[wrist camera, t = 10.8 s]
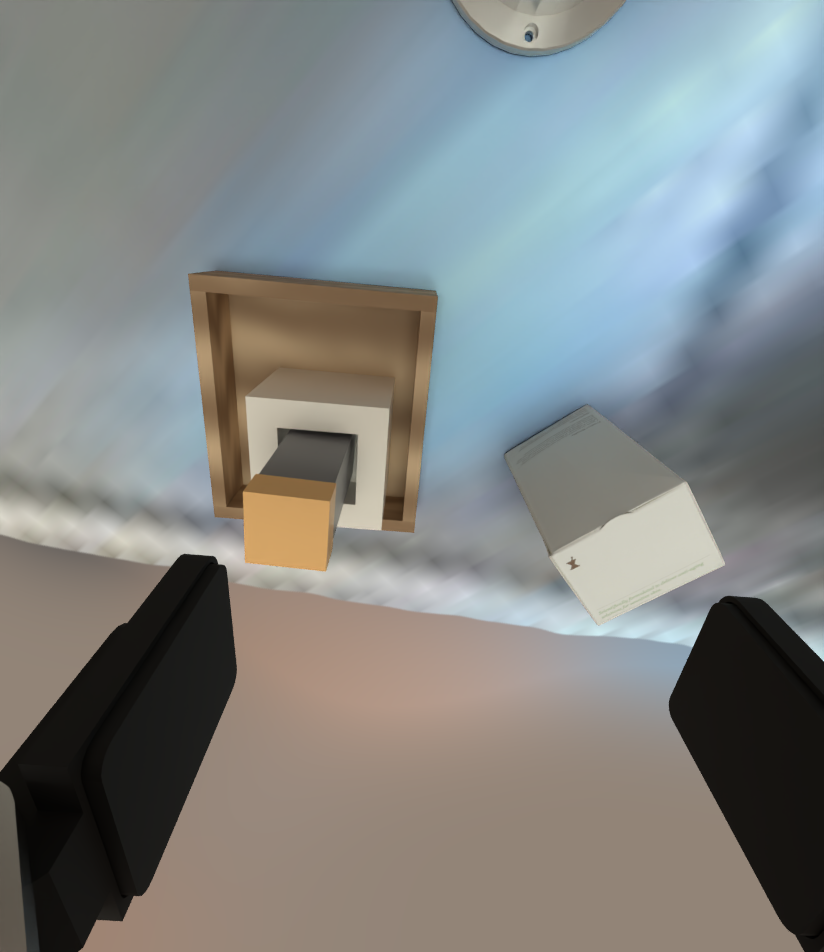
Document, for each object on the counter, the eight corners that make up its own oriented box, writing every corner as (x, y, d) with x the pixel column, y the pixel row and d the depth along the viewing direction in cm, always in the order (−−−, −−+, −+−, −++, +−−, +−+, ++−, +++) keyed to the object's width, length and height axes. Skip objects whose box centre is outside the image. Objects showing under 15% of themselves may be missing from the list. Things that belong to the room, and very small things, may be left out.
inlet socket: (279, 367, 37) (245, 396, 30) (395, 377, 37) (389, 408, 30) (283, 472, 41) (253, 520, 34) (387, 480, 41) (381, 530, 34)
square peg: (299, 413, 34) (242, 491, 23) (358, 420, 34) (330, 501, 23) (298, 466, 36) (245, 562, 25) (354, 473, 36) (326, 571, 25)
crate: (215, 270, 35) (188, 273, 30) (435, 290, 35) (437, 296, 31) (234, 490, 42) (214, 516, 38) (414, 505, 43) (413, 532, 39)
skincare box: (535, 506, 43) (592, 633, 29) (498, 449, 40) (541, 557, 26) (623, 459, 41) (732, 570, 26) (590, 396, 38) (690, 482, 24)
